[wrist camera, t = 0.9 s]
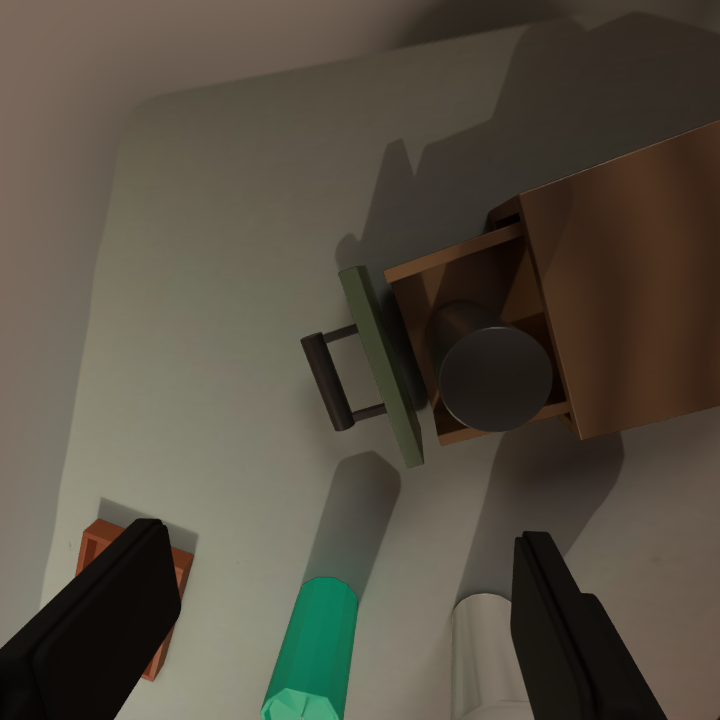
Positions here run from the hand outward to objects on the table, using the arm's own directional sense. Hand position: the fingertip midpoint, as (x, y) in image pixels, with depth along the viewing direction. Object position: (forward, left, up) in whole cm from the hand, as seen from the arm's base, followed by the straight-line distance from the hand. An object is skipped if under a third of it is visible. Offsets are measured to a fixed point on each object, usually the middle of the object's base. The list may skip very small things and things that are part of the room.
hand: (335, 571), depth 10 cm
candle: (+21, -13, -22) cm, 34 cm away
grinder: (-1, +6, -20) cm, 21 cm away
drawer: (-1, +5, -21) cm, 22 cm away
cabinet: (-1, +19, -22) cm, 29 cm away
